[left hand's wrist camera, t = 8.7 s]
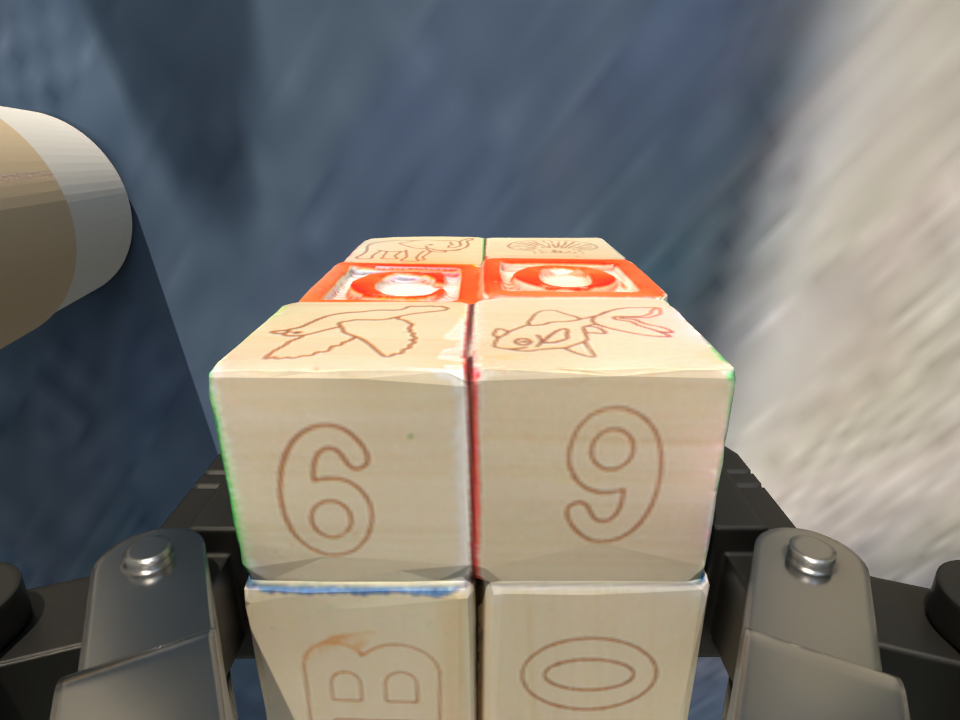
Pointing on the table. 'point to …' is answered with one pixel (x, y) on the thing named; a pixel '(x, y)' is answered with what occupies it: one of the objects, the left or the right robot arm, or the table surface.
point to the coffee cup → (54, 219)
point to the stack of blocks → (475, 485)
